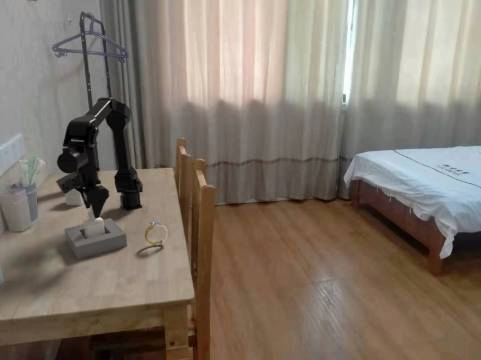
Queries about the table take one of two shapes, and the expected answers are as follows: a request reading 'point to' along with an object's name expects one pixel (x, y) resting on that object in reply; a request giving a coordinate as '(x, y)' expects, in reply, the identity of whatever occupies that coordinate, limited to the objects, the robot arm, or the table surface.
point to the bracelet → (152, 228)
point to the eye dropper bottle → (93, 226)
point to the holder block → (95, 239)
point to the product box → (74, 198)
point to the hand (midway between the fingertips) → (92, 213)
